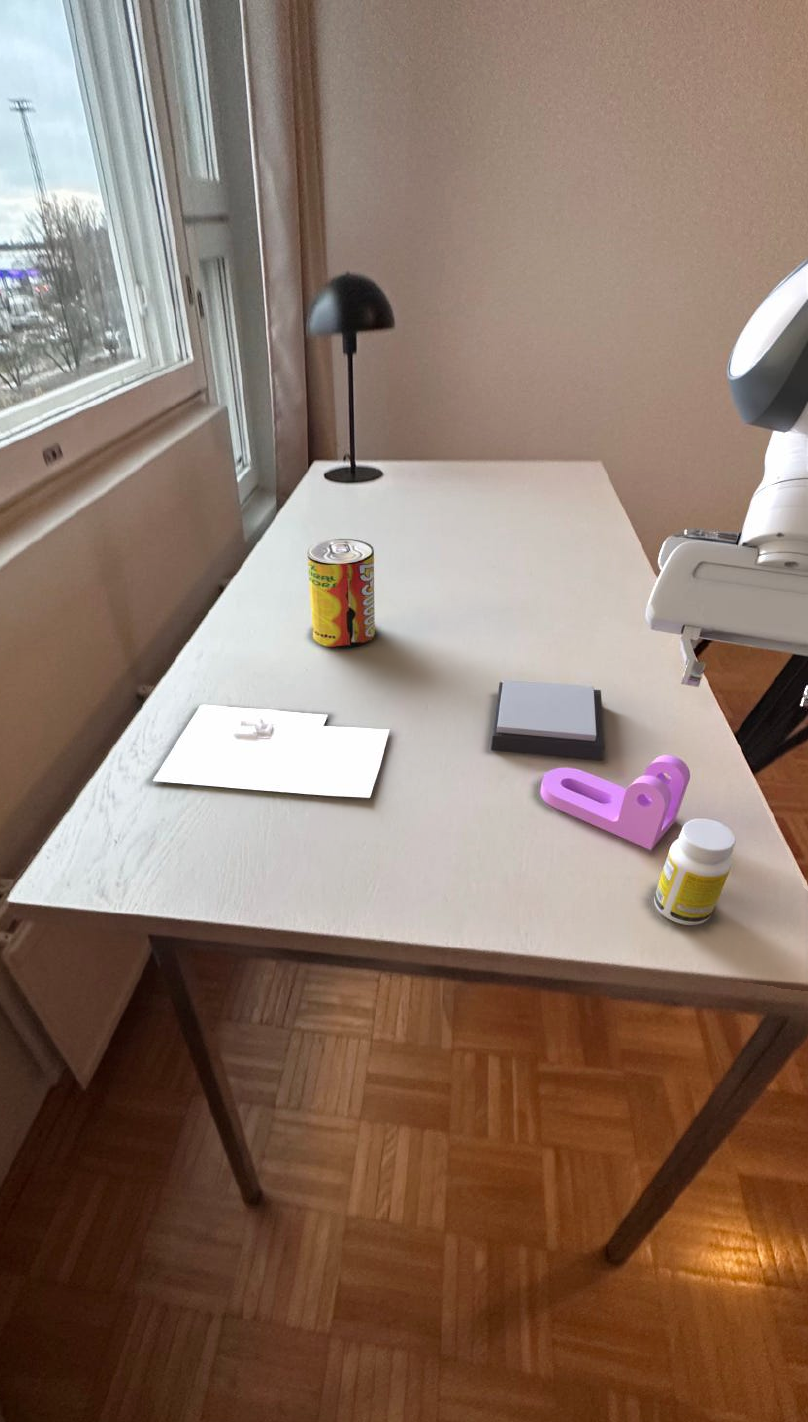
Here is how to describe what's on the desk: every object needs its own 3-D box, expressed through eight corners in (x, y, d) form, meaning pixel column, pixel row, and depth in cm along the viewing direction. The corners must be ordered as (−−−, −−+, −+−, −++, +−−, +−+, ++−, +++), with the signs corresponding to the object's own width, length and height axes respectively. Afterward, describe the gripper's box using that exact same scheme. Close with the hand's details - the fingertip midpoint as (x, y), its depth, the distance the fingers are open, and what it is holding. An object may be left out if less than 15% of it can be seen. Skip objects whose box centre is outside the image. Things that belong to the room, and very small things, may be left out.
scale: (597, 704, 89) (602, 683, 87) (601, 760, 80) (606, 739, 79) (497, 696, 91) (500, 676, 90) (490, 750, 83) (493, 729, 81)
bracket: (675, 821, 72) (694, 763, 68) (650, 850, 69) (669, 792, 65) (557, 771, 79) (567, 716, 75) (530, 796, 76) (539, 741, 72)
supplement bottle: (723, 912, 63) (755, 839, 58) (686, 935, 61) (716, 862, 56) (677, 879, 66) (703, 807, 61) (641, 901, 65) (664, 828, 59)
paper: (149, 788, 80) (147, 780, 79) (195, 705, 92) (193, 697, 92) (377, 801, 76) (377, 793, 76) (392, 713, 89) (392, 706, 88)
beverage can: (318, 651, 102) (312, 566, 94) (308, 624, 109) (302, 542, 101) (381, 643, 103) (380, 559, 96) (367, 616, 110) (365, 535, 102)
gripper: (671, 506, 63) (624, 659, 63) (953, 538, 56) (899, 711, 56) (666, 541, 69) (623, 681, 69) (921, 573, 62) (872, 730, 62)
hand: (748, 695), depth 62 cm, fingers open, 8 cm apart
